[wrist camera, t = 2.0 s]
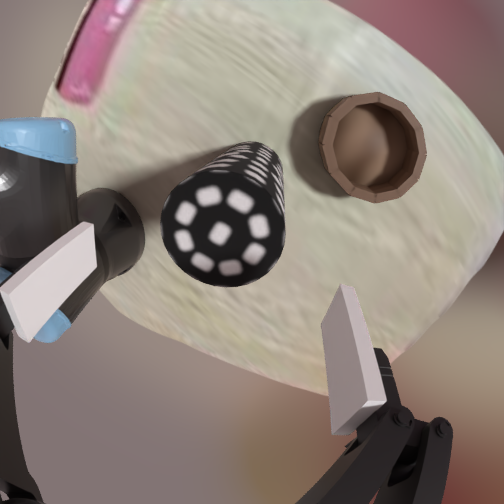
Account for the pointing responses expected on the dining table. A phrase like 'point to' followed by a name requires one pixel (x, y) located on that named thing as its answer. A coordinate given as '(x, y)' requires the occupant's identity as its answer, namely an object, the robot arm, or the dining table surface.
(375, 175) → the holder
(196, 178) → the white-spotted black cylinder
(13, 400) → the robot arm
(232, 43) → the dining table surface
